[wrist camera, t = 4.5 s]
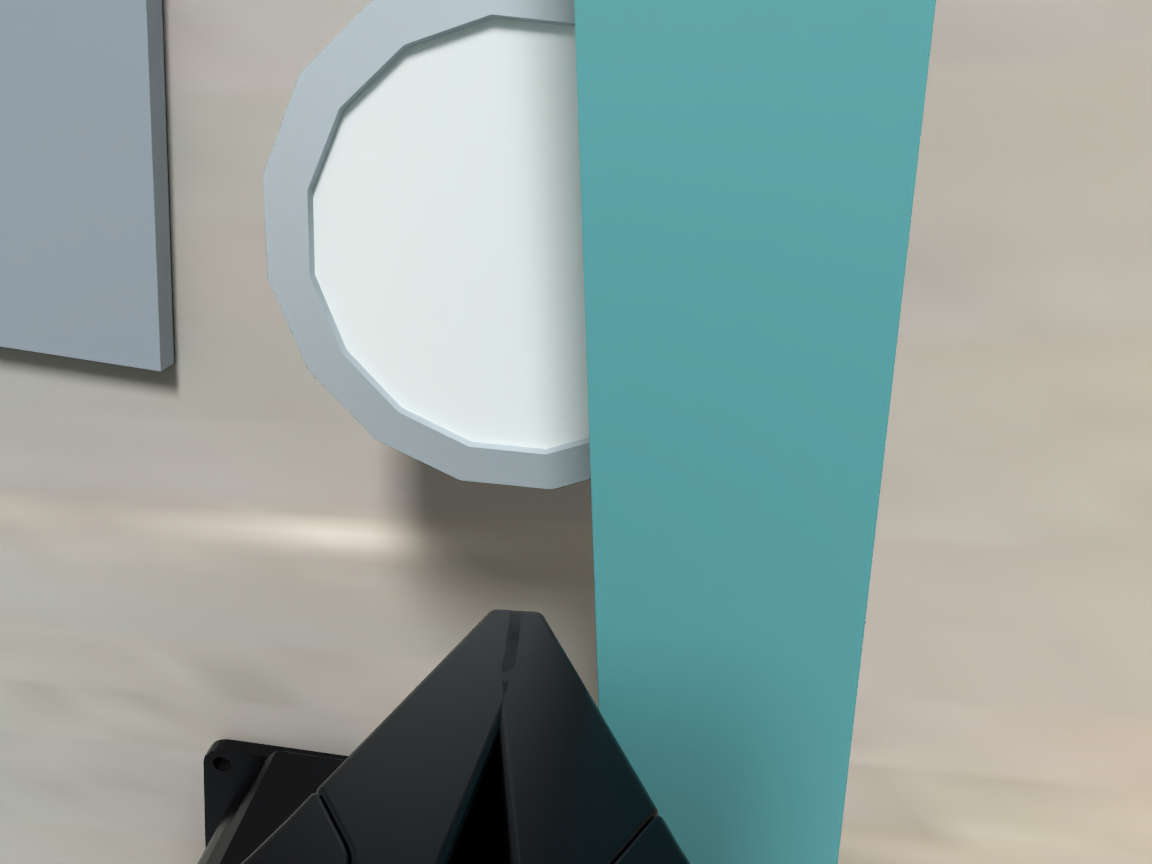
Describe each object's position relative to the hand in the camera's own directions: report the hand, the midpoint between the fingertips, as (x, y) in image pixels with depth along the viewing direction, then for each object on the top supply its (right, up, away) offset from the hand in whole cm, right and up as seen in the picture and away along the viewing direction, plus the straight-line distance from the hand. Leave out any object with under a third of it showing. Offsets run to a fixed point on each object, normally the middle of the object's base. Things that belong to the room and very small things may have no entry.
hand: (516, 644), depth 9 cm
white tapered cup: (0, +7, +8) cm, 11 cm away
